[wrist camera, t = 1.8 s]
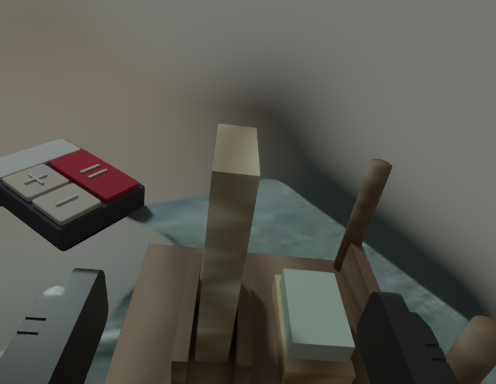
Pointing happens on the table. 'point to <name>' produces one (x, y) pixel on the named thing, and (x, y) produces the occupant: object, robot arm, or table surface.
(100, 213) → the calculator
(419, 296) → the table surface
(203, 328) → the beige wooden block
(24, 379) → the robot arm
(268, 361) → the rack
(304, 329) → the offcut upper
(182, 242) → the table surface
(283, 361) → the offcut lower
